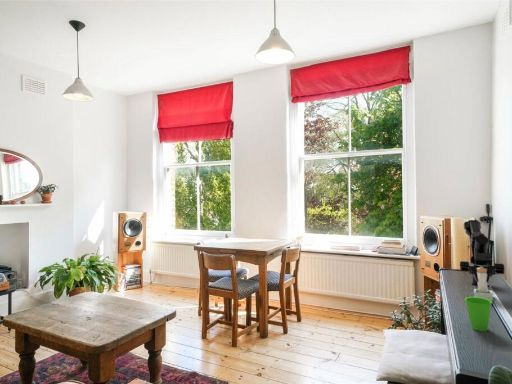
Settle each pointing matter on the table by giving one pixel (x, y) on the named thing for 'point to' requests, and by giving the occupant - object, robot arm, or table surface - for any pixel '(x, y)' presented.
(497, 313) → the table surface
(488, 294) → the frame
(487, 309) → the cup
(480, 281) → the cell
